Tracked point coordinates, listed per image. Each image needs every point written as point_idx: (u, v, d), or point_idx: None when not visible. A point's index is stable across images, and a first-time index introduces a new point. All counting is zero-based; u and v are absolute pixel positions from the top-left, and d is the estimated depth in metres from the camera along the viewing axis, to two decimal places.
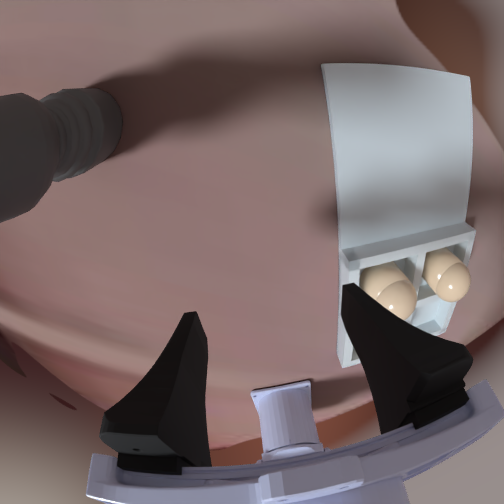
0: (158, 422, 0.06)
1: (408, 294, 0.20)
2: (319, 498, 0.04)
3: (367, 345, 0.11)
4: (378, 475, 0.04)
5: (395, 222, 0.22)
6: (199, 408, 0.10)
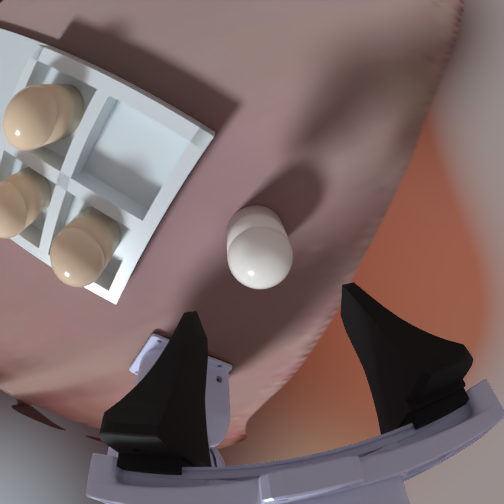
0: (158, 422, 0.06)
1: None
2: (319, 498, 0.04)
3: (367, 345, 0.11)
4: (378, 475, 0.04)
5: None
6: (199, 409, 0.10)
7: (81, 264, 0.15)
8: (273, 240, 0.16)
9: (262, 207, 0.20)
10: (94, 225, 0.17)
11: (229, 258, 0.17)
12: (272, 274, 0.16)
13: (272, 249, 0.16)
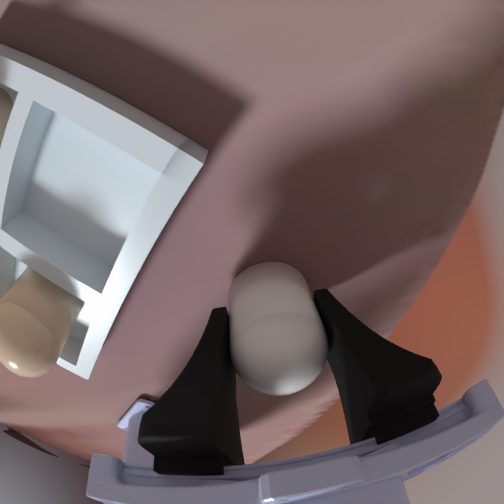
0: (207, 421, 0.06)
1: None
2: (319, 498, 0.04)
3: (335, 353, 0.11)
4: (378, 475, 0.04)
5: None
6: (233, 405, 0.10)
7: (25, 358, 0.08)
8: (303, 338, 0.10)
9: (281, 265, 0.13)
10: (38, 296, 0.10)
11: (233, 357, 0.11)
12: (299, 385, 0.10)
13: (302, 354, 0.10)
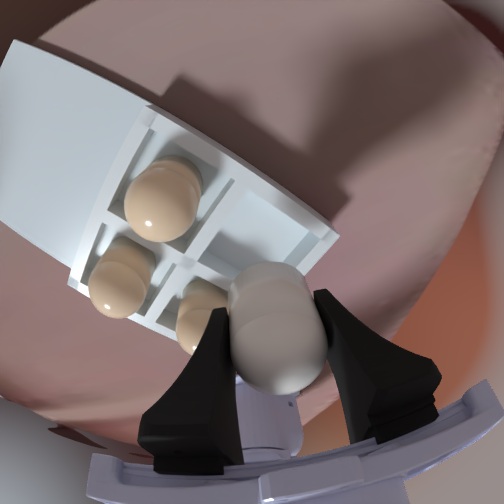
0: (207, 421, 0.06)
1: (92, 284, 0.16)
2: (319, 498, 0.04)
3: (335, 353, 0.11)
4: (378, 475, 0.04)
5: (76, 212, 0.18)
6: (233, 406, 0.10)
7: None
8: (303, 338, 0.10)
9: (280, 265, 0.13)
10: (220, 303, 0.20)
11: (233, 358, 0.11)
12: (299, 385, 0.10)
13: (301, 353, 0.10)
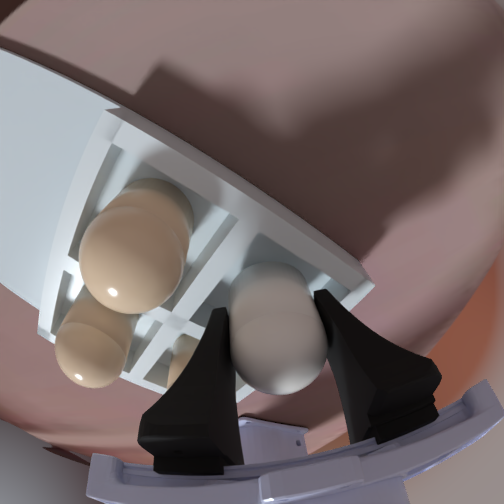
0: (207, 421, 0.06)
1: (58, 351, 0.11)
2: (319, 498, 0.04)
3: (335, 353, 0.11)
4: (378, 475, 0.04)
5: (38, 250, 0.13)
6: (233, 406, 0.10)
7: None
8: (303, 337, 0.10)
9: (280, 265, 0.13)
10: None
11: (233, 357, 0.11)
12: (299, 385, 0.10)
13: (301, 353, 0.10)
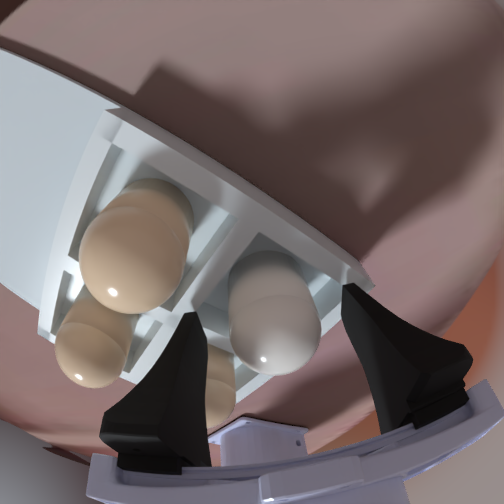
0: (158, 422, 0.06)
1: (58, 351, 0.11)
2: (319, 498, 0.04)
3: (367, 345, 0.11)
4: (378, 475, 0.04)
5: (38, 250, 0.13)
6: (199, 409, 0.10)
7: (221, 416, 0.14)
8: (297, 318, 0.11)
9: (277, 254, 0.14)
10: (220, 365, 0.15)
11: (232, 338, 0.12)
12: (294, 364, 0.11)
13: (295, 333, 0.10)
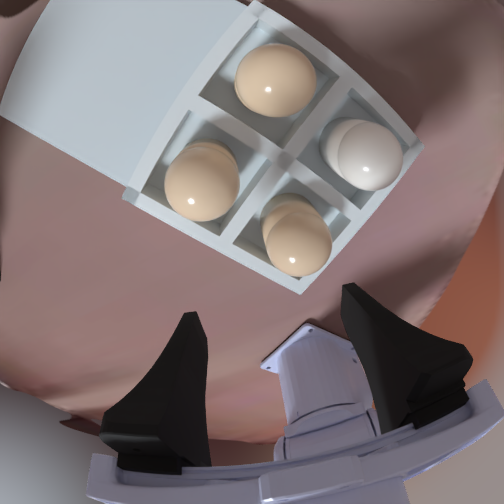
0: (158, 422, 0.06)
1: (178, 168, 0.13)
2: (319, 498, 0.04)
3: (367, 345, 0.11)
4: (378, 475, 0.04)
5: (145, 111, 0.16)
6: (199, 409, 0.10)
7: (326, 250, 0.16)
8: (389, 133, 0.13)
9: None
10: (316, 211, 0.18)
11: (344, 151, 0.14)
12: (393, 165, 0.13)
13: (391, 139, 0.13)
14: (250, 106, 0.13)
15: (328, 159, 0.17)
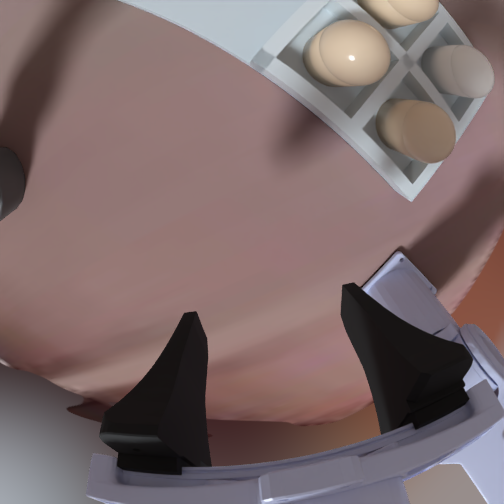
0: (158, 422, 0.06)
1: (347, 24, 0.10)
2: (319, 498, 0.04)
3: (367, 345, 0.11)
4: (378, 475, 0.04)
5: None
6: (199, 409, 0.10)
7: (455, 135, 0.13)
8: None
9: None
10: None
11: (457, 58, 0.11)
12: (492, 75, 0.10)
13: (486, 58, 0.10)
14: (395, 3, 0.09)
15: (436, 71, 0.13)
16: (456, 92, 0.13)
